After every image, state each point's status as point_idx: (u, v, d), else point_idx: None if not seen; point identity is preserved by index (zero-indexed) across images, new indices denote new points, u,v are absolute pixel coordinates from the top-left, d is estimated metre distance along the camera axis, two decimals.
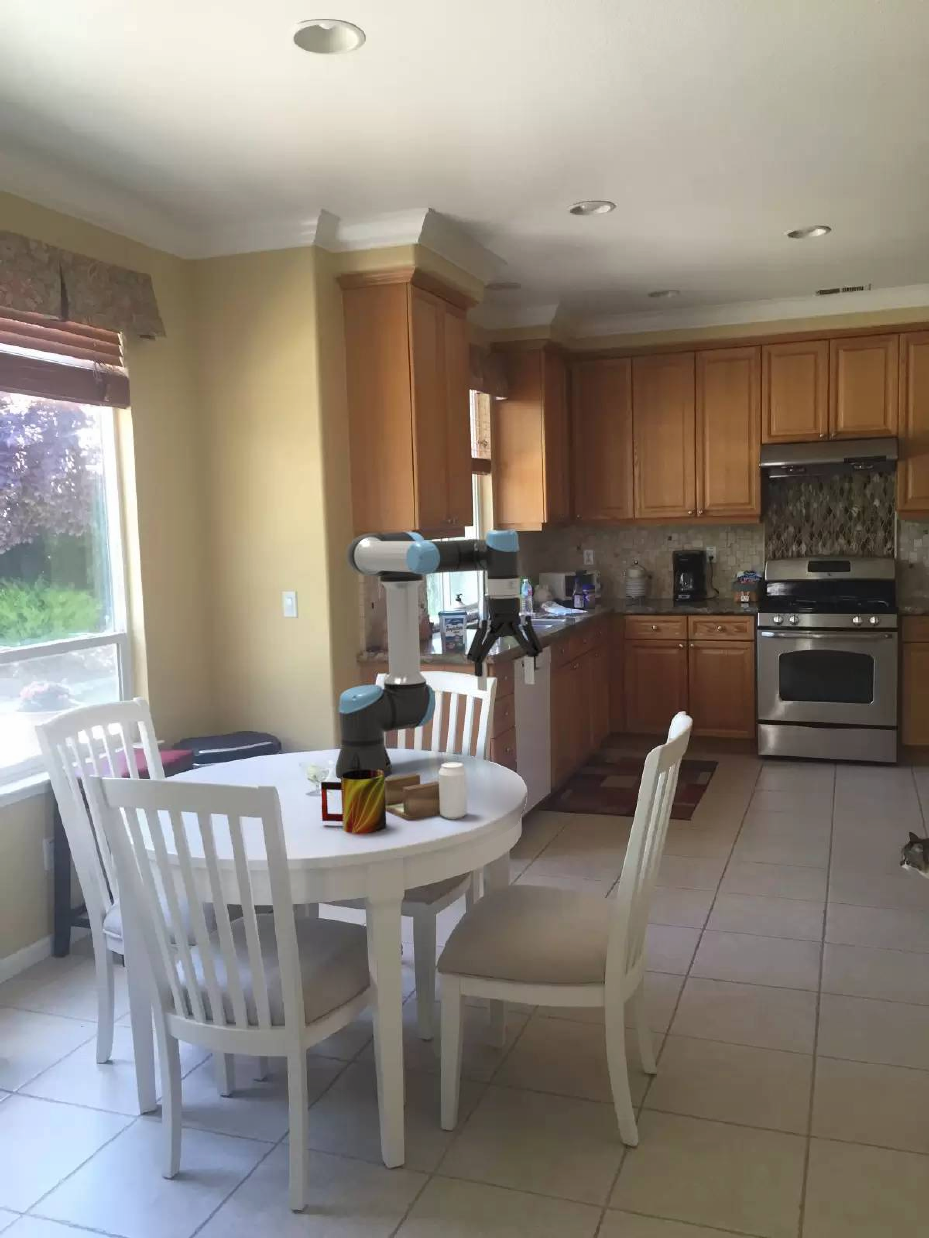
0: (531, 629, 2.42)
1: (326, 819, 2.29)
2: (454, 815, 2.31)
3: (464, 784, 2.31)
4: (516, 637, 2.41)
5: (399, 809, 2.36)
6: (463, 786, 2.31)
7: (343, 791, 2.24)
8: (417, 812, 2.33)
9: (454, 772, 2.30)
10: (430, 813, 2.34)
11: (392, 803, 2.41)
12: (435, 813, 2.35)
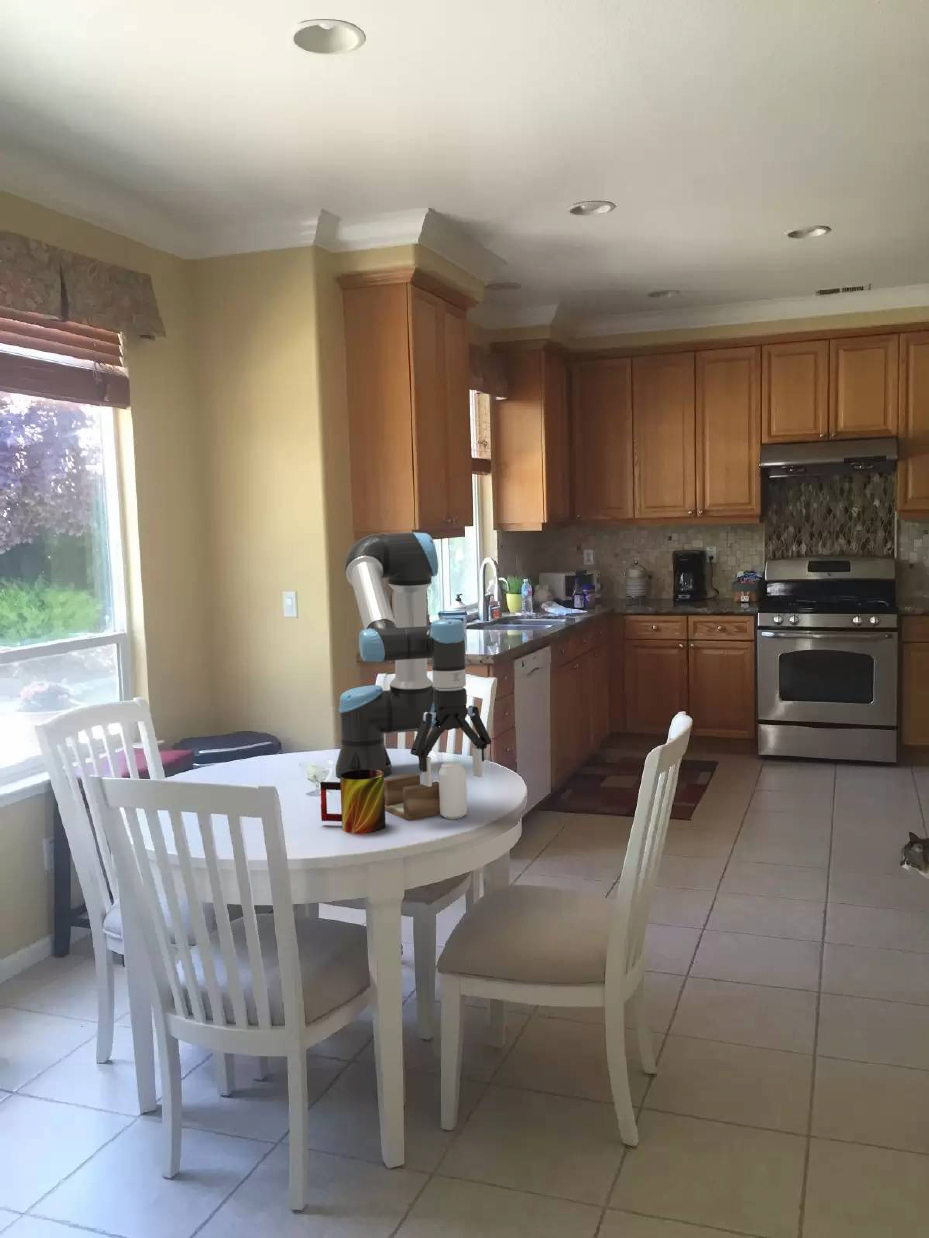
0: (479, 720, 2.34)
1: (325, 819, 2.29)
2: (454, 815, 2.31)
3: (464, 784, 2.31)
4: (463, 729, 2.34)
5: (399, 809, 2.36)
6: (463, 786, 2.31)
7: (342, 791, 2.24)
8: (417, 812, 2.33)
9: (454, 772, 2.30)
10: (430, 813, 2.34)
11: (392, 803, 2.41)
12: (435, 813, 2.35)
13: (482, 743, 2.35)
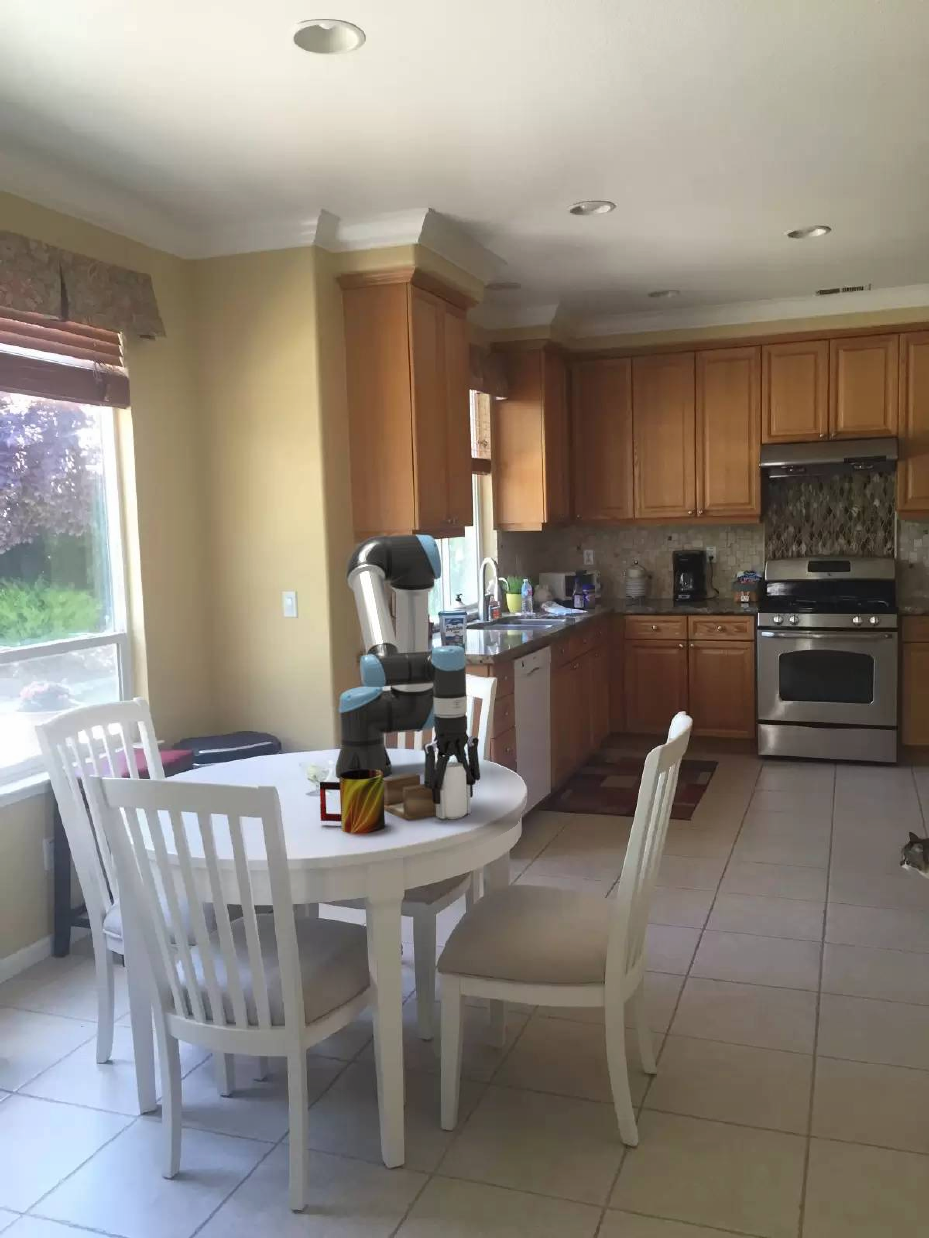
0: (475, 752, 2.34)
1: (324, 819, 2.29)
2: (454, 815, 2.31)
3: (464, 784, 2.31)
4: (458, 758, 2.34)
5: (399, 809, 2.36)
6: (463, 786, 2.31)
7: (342, 791, 2.24)
8: (417, 812, 2.33)
9: (454, 772, 2.30)
10: (430, 813, 2.34)
11: (392, 803, 2.41)
12: (435, 813, 2.35)
13: (471, 779, 2.34)
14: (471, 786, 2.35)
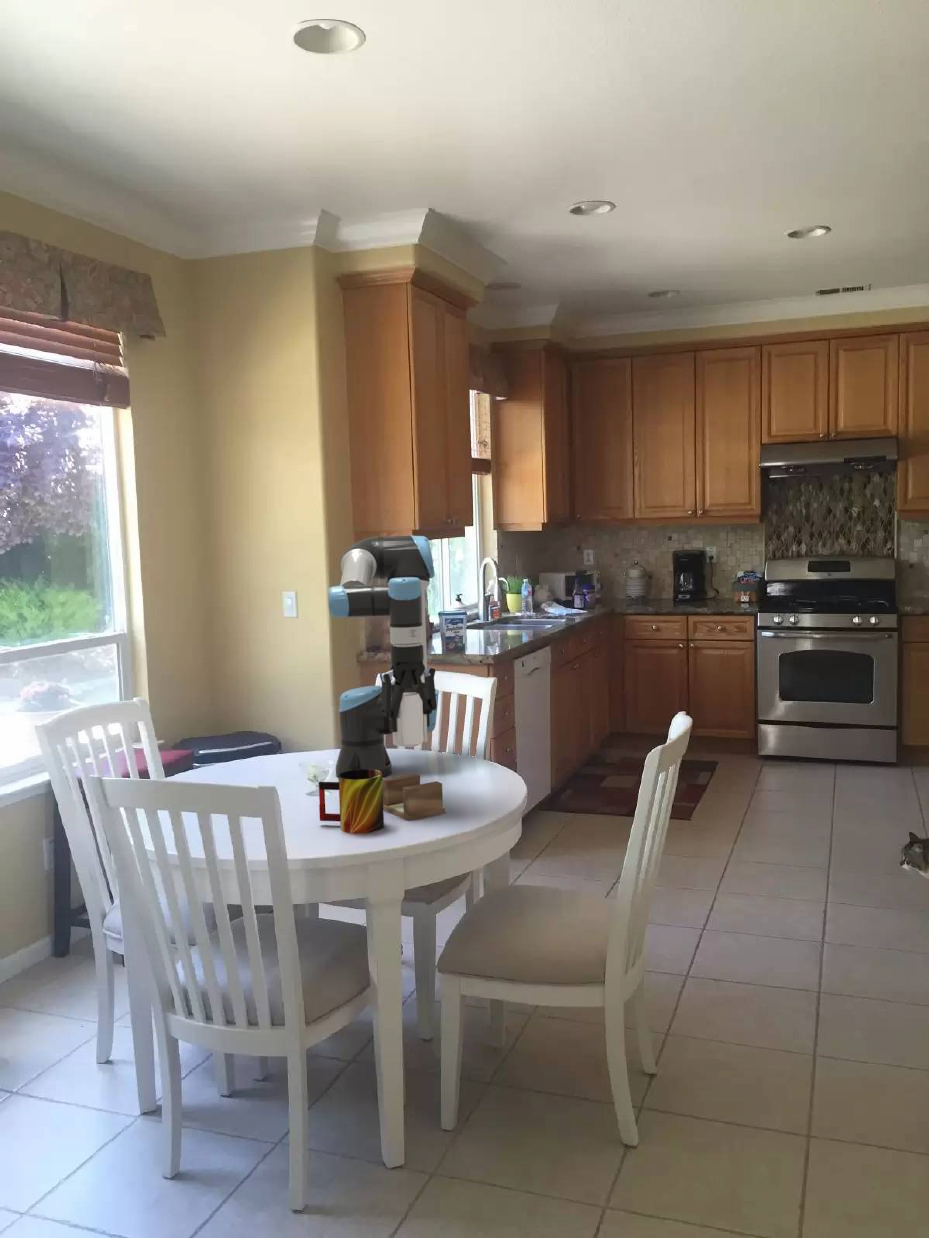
0: (432, 682, 2.39)
1: (323, 819, 2.29)
2: (410, 743, 2.35)
3: (420, 713, 2.36)
4: (415, 688, 2.38)
5: (399, 809, 2.36)
6: (419, 714, 2.35)
7: (341, 791, 2.24)
8: (417, 812, 2.33)
9: (410, 701, 2.34)
10: (430, 813, 2.34)
11: (392, 803, 2.41)
12: (435, 813, 2.35)
13: (428, 708, 2.39)
14: (428, 716, 2.39)
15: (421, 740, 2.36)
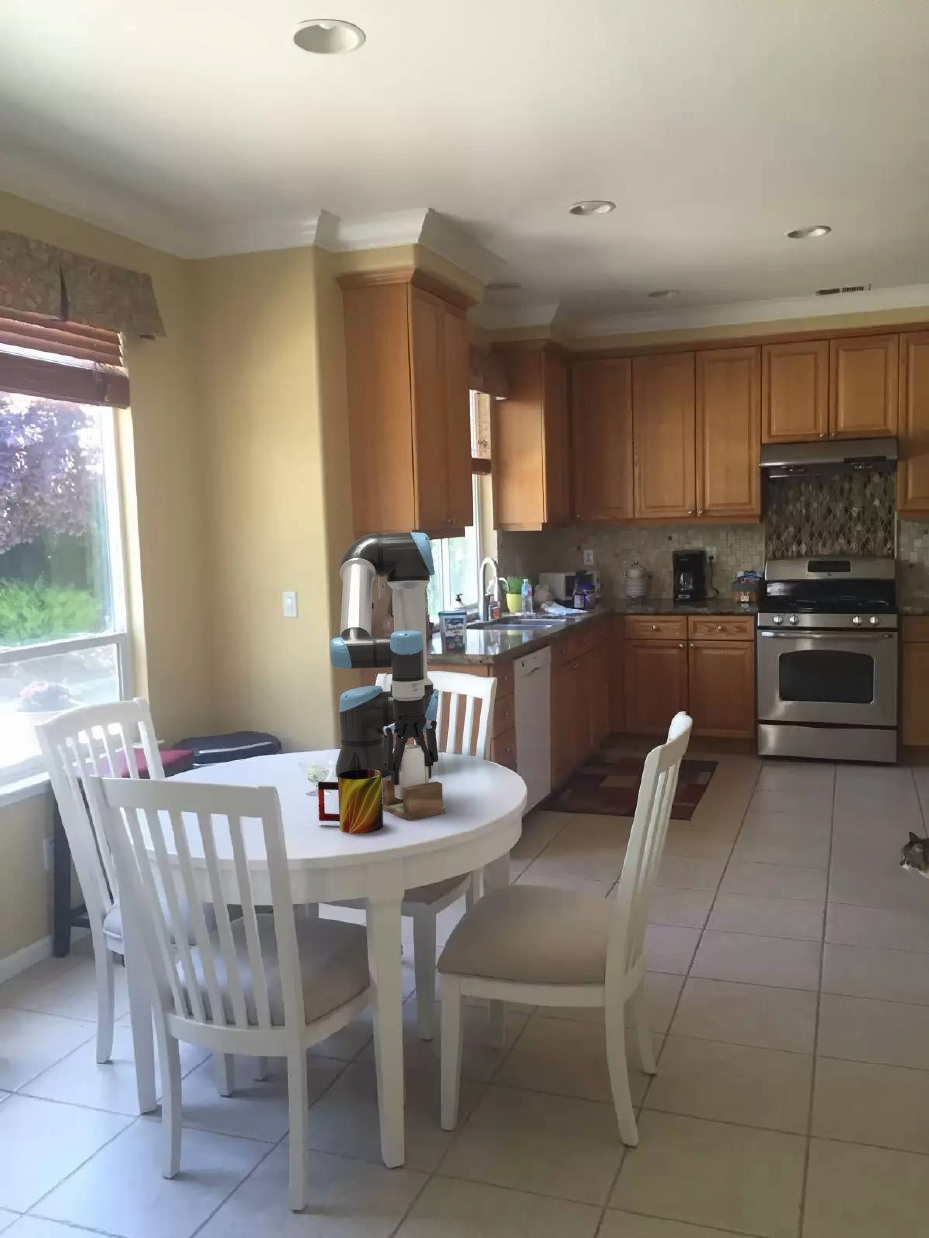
0: (433, 735, 2.40)
1: (323, 819, 2.29)
2: None
3: (422, 765, 2.37)
4: (417, 740, 2.39)
5: (399, 809, 2.36)
6: (421, 767, 2.36)
7: (340, 791, 2.24)
8: (417, 812, 2.33)
9: (412, 754, 2.35)
10: (430, 813, 2.34)
11: (392, 803, 2.41)
12: (435, 813, 2.35)
13: (430, 761, 2.40)
14: (429, 768, 2.40)
15: None
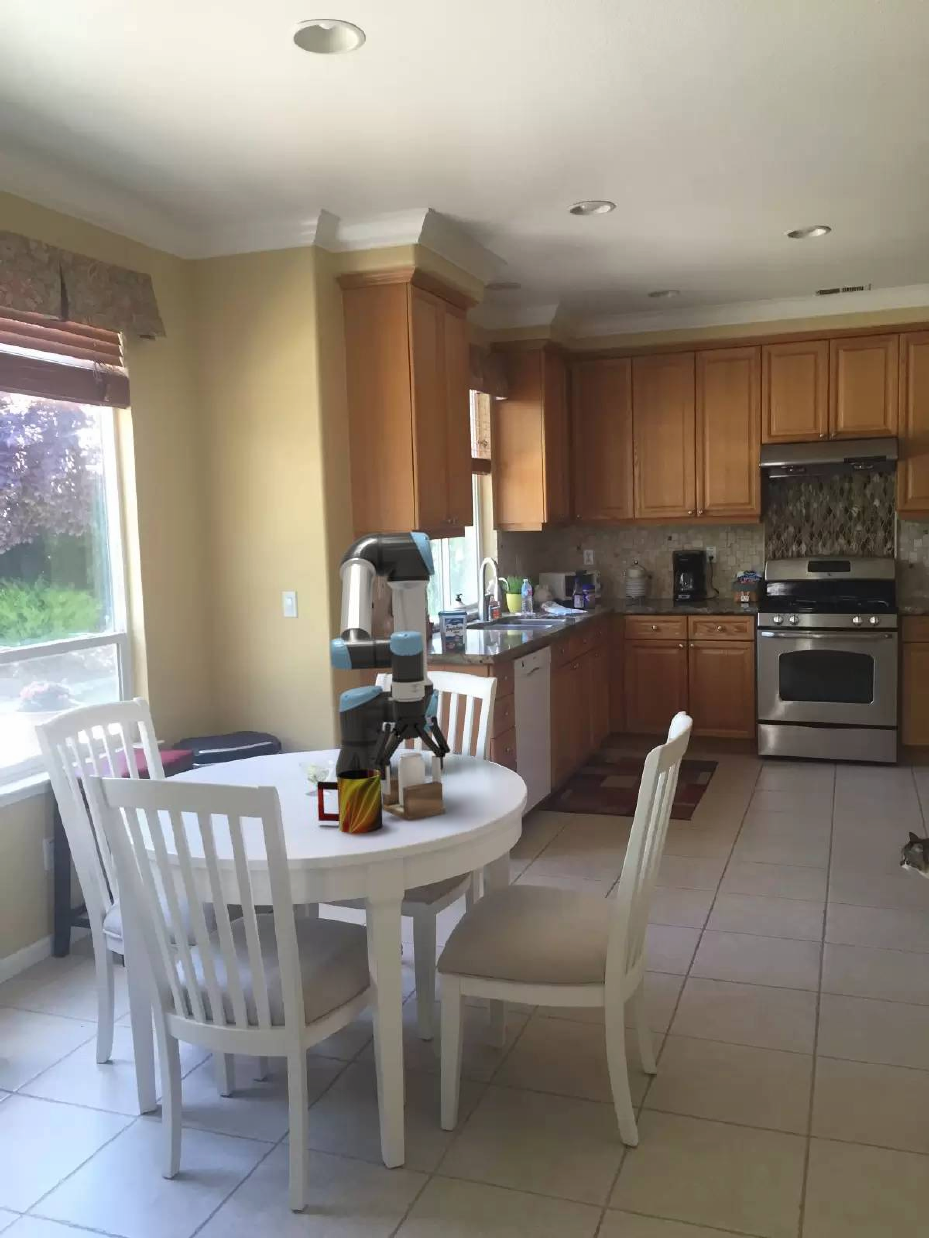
0: (437, 730, 2.40)
1: (322, 819, 2.29)
2: None
3: (422, 774, 2.37)
4: (422, 738, 2.40)
5: (399, 809, 2.36)
6: (421, 776, 2.36)
7: (339, 791, 2.24)
8: (417, 812, 2.33)
9: (413, 763, 2.35)
10: (430, 813, 2.34)
11: (392, 803, 2.41)
12: (435, 813, 2.35)
13: (441, 752, 2.41)
14: (441, 759, 2.42)
15: None
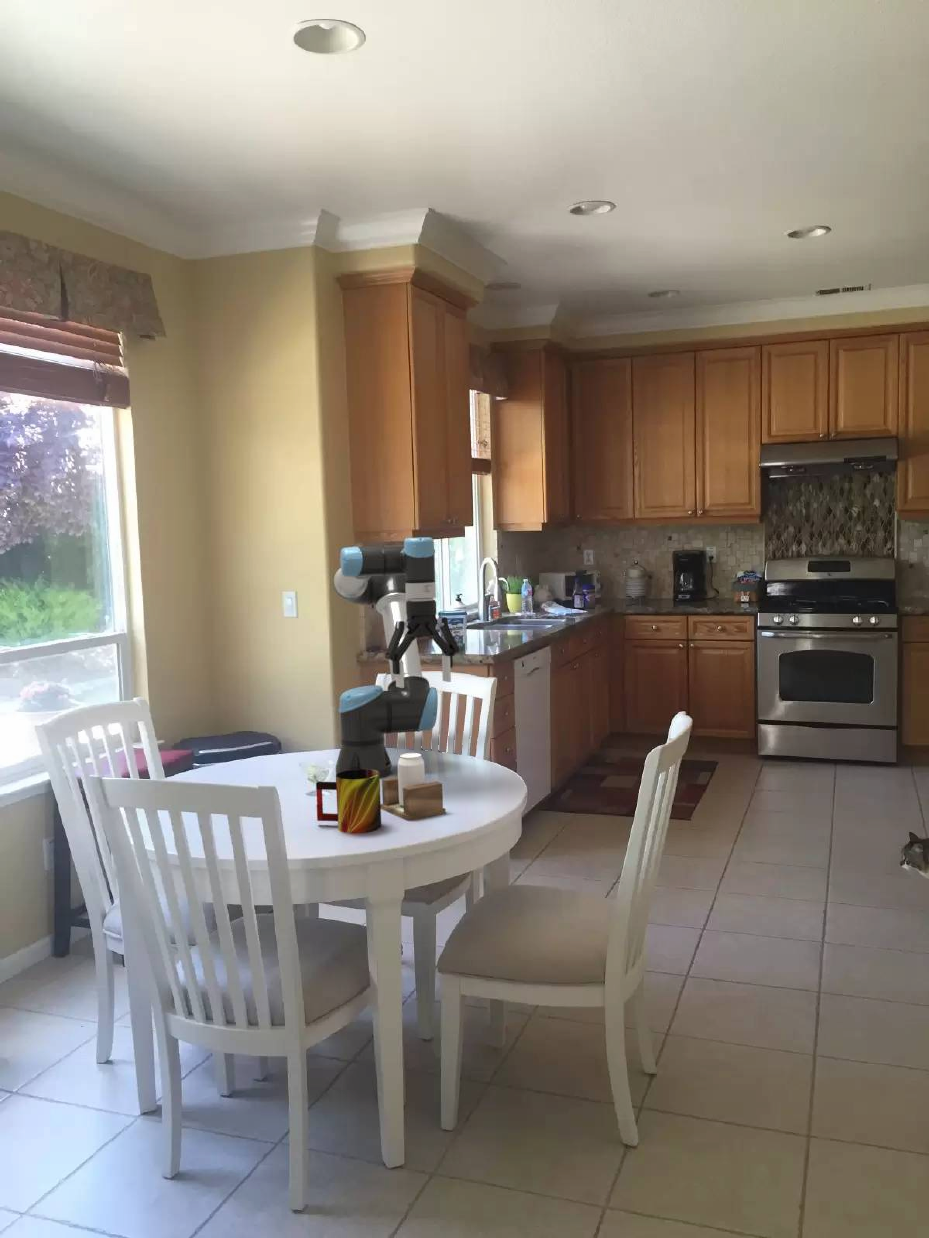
0: (447, 630, 2.58)
1: (321, 819, 2.29)
2: None
3: (422, 774, 2.37)
4: (433, 637, 2.57)
5: (399, 809, 2.36)
6: (421, 776, 2.37)
7: (338, 791, 2.24)
8: (417, 812, 2.33)
9: (412, 763, 2.35)
10: (430, 813, 2.34)
11: (392, 803, 2.41)
12: (435, 813, 2.35)
13: (451, 651, 2.59)
14: (451, 658, 2.60)
15: None
